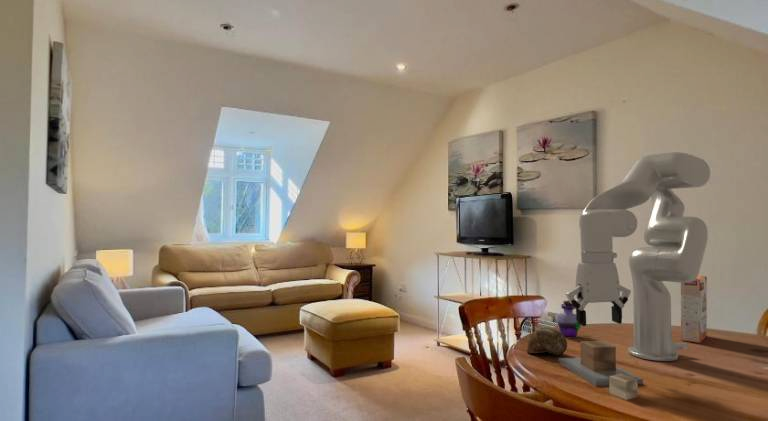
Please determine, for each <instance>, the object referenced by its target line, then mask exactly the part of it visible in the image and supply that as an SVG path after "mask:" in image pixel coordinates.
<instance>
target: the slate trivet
mask: <svg viewBox="0 0 768 421" xmlns="http://www.w3.org/2000/svg"><path fill="white" fill-rule="evenodd" d="M557 359H558V363H559V364H560V365H561V366H563V367H565V368H566V369H568V370H570V371H571V372H573V373H575V374H576V375H577V376H579V377H581V378H582V379H584V380H585V381H587V382H589V383H590V384H592V385H594V386H595V387H597V386H598V387H600V386H601V387H602V386H603V387H604V386H605V387H606V386H609V376H613V375H618V374H623V375H626V376H629V377H632V378H635V379H637V384H638V385H644V380H643V378H641V377H639V376H638V375H637V376H636V375H635V374H633V373H632V372H630V371H627V370H625V369H624V368H622V367H620V366H618V365H616V371H592V370H590V369H588V368H587V367H585V366H583V365H581V357H558V358H557Z"/></svg>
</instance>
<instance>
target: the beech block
mask: <svg viewBox="0 0 768 421" xmlns="http://www.w3.org/2000/svg"><path fill="white" fill-rule="evenodd" d="M638 385H639V384H637V379H635V378H632V377H629V376H626V375H623V374H618V375H613V376H609V385H608V387H609V395H612V396H615V397H617V398H620V399H622V400H625V401H627V400H632V399H635V398H638V396H639V395H638V392H639V390H638Z"/></svg>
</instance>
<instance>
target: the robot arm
mask: <svg viewBox="0 0 768 421" xmlns="http://www.w3.org/2000/svg"><path fill="white" fill-rule="evenodd" d="M710 178H711V169H710V165H709V164H708V162H707V161H706V160H705V159H703V158H701V157H698V156H695V155H693V154H689V153H685V152H680V151H679V152H678V151H675V152H674V151H672V152H666V153H665V152H663V153H658V154H656V153H655V154H649V155H644V156H642V157H640V158H639V159H638V160H636V162H635V163H634V164H633V166H632V167H631V168H630V170H629V171H628V173H627V174H626V175H625V176H624V178H623V180H622V181H621V182H620V183H618V184H616V185H614V186H612V187H611V188H608V189H606V190H605V191H603V192H602V193H601V192H600V194H598V195H596V196H595V197H593V199H591V200H590V201H589V202H588V204H587V205H586V207H584V209H583V210H582V213H581V214H580V215H579V221H578V224H579V229H580V230H579V231H580V253H581V254H580V255H581V256H580V257H581V258H580V259H581V262H579V263H578V264H577V268H576V274H575V287H573V288H572V289H570V290H568V291H567V292H565V297H566V298H567V301H569V302H570V304H571V305H573V306H574V308H575V309H574V310H575V314H576V320H577V323H578V324H580V325H581V326H582V327H586V326H587V312H586V310H585V308H586V306H588V304H592V303H593V304H594V303H611V304H612V305H611V321H612V322H614V323H616V324H619V325H620V324H622V322H623V321H622V319H623V308H624V307H625V304H626V303H627V302H628V301H629V297H630V295H631V292H632V291H631V290H630V289H628V288H627V287H625V286H623V285H621V284H620V277H619V273H618V268H617V265H616V263H615V262H614V260H615V258H617V257H618V253H616V252H614V250H613V249H614V247H613V238H626V237H629V236H631V235H633V234H634V233H635V232H636V230H637V228H638V220H637V219H638V217H636V215H635V214H634V212H632V211H630V210H628V209H631V208H635V207H638V206H640V205H643V204H645V203H647V202H648V201H649V200H650V198H651V201H652V203H651V204H652V205H651V209H650V212H649V217H648V219H647V221H646V222H647V223H646V225H645V228H644V229H645V230H644V233H643V239H644V242H645V243H646V244H647V245H649V246H646V247H645V246H644V247H639V248H636V249H634V250H633V251H632V252H631V253H630V255H629V257H628V258H629V259H628V265H629V271H630V274H631V280H632V290H633V292H632V293H633V295H632V296H633V298H632V299H633V300H632V301H633V303H632V304H633V305H632V306H633V345H631V346H628V349H627V352H628V354H630V355H631V356H633V357H637V358H640V359H645V360H649V361H657V362H673V361H677V360H678V359H679V354H678V353H677V352H676V351H677V350H687V349H688V344H687V343H686V342H684V341H683V342H676V341H674V340H672V297H671V293H670V291H669V289H668V287H667V286H666V284H664V282H670V283H679V284H681V283H690V282H693V281H694V280H695V279H696V278H697V276H698V275H700V274H699V273H700V272H701V271H700V270H701V266H702V262H703V259H704V254H705V251H706V248H707V243H708V238H709V236H708V233H709V232H708V227H707V226H708V225H707V224H706V223H705V221H704V220H703V219H701V218H700V217H697V216H684V213H685V203H683V201H682V200H681V198H680V197H679V196H678V195H677V194H675V192H674V191H673V189H675V190H676V189H691V188H692V189H695V188H701V187H703V186H705V185H706V184H707V183H708V182H709V181H710ZM650 246H651V247H650ZM575 297H576V298H575ZM576 299H577V300H576Z"/></svg>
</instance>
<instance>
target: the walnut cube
mask: <svg viewBox="0 0 768 421" xmlns="http://www.w3.org/2000/svg"><path fill="white" fill-rule="evenodd" d="M580 358H581V365H583V366H585V367H587V368H588V369H590V370H592V371H616V366H617V347H616V346H614V345H613V344H610V343H608V342H606V341H603V340H583V341H581V340H580Z"/></svg>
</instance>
